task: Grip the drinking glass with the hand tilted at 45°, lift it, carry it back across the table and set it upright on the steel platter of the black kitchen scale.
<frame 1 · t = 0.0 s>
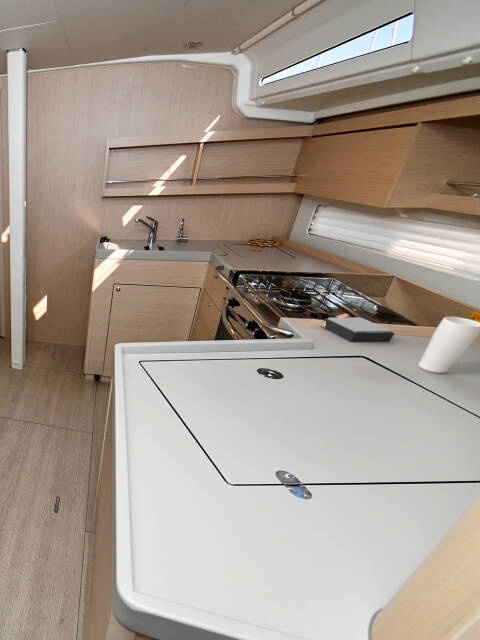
kitchen scale: (353, 333, 121), on the countertop
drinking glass: (430, 369, 100), on the countertop
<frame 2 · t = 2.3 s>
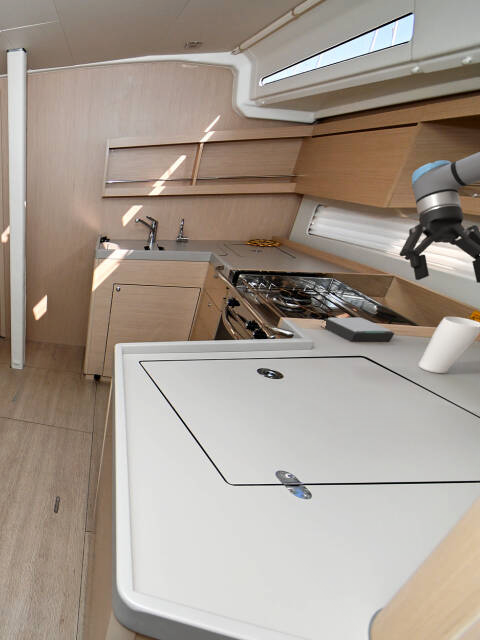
hand: (452, 279, 97), 24 cm above the countertop, tool tilted 40°, fingers open, 13 cm apart
nothing on the countertop moved.
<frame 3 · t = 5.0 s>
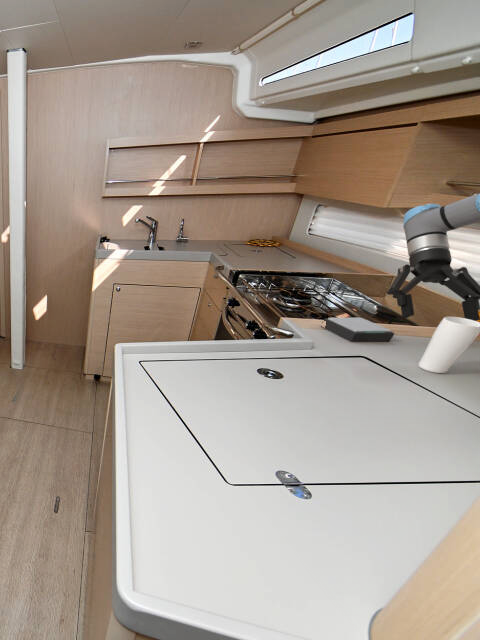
hand: (439, 318, 99), 13 cm above the countertop, tool tilted 45°, fingers open, 13 cm apart
nothing on the countertop moved.
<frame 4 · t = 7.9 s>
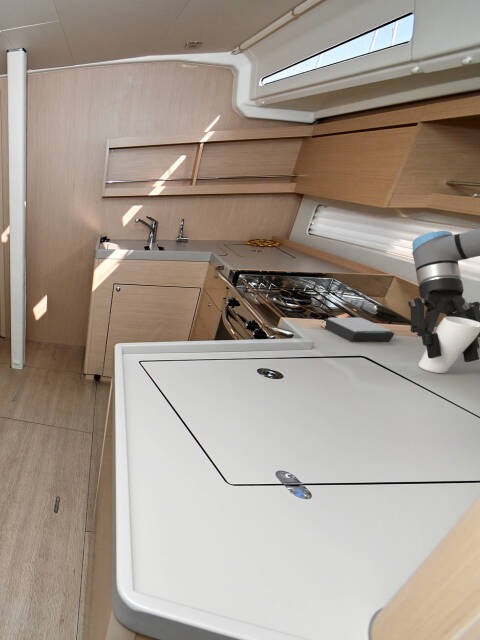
hand: (453, 358, 95), 5 cm above the countertop, tool tilted 45°, fingers closed on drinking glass, 7 cm apart
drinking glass: (430, 369, 100), on the countertop, touching gripper
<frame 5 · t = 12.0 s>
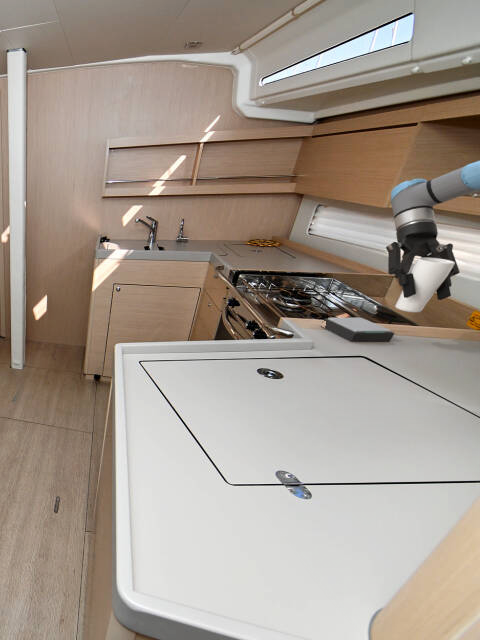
hand: (426, 296, 100), 19 cm above the countertop, tool tilted 45°, fingers closed on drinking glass, 7 cm apart
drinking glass: (406, 310, 106), point 13 cm above the countertop, touching gripper
when the fingers open (9 cm above the countertop, at t = 16.2 s): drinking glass stays where it is, resting on kitchen scale.
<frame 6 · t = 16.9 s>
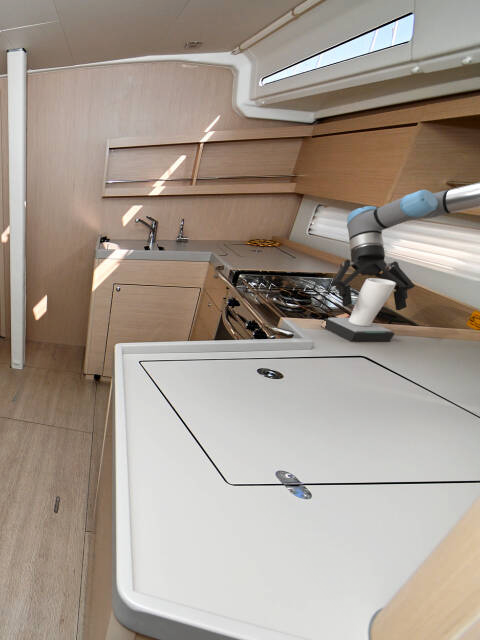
hand: (373, 306, 114), 11 cm above the countertop, tool tilted 45°, fingers open, 13 cm apart
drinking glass: (358, 324, 119), point 4 cm above the countertop, touching kitchen scale
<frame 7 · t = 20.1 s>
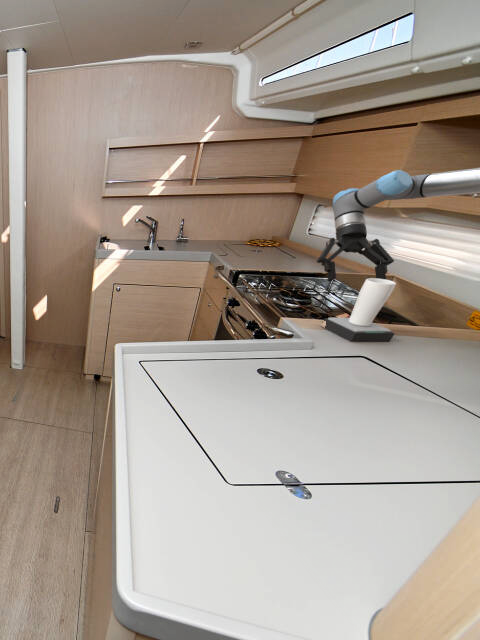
hand: (356, 280, 122), 16 cm above the countertop, tool tilted 45°, fingers open, 13 cm apart
nothing on the countertop moved.
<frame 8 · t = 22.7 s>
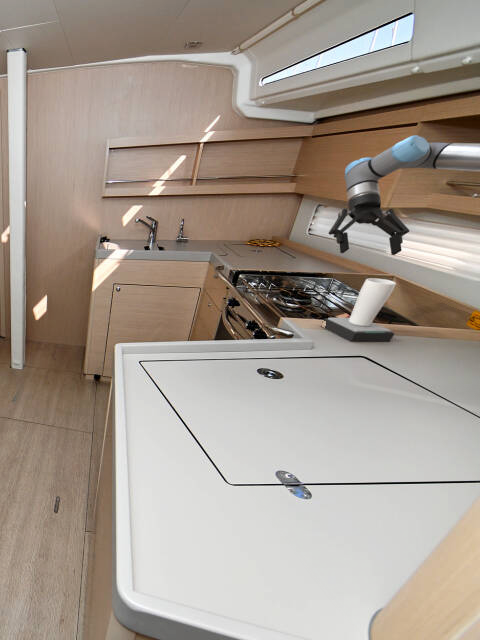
hand: (370, 252, 118), 26 cm above the countertop, tool tilted 45°, fingers open, 13 cm apart
nothing on the countertop moved.
at the end: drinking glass inside the target area on the kitchen scale (0.1 cm from its centre), point 3.6 cm above the kitchen scale's base; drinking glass tilted 0°; the gripper is holding nothing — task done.
